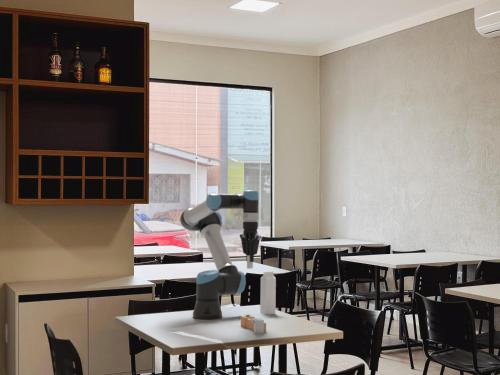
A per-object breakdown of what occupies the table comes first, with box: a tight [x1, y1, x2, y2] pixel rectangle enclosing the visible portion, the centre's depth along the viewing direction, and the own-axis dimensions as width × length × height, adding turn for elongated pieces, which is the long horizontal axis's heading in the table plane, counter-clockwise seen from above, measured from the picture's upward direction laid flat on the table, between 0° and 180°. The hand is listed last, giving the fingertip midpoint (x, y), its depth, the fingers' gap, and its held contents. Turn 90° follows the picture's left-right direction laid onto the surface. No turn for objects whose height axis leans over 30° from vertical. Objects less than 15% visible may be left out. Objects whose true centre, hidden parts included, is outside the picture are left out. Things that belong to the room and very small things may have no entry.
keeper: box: [251, 317, 265, 335], centre depth 315 cm, size 5×5×6 cm
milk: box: [259, 271, 277, 315], centre depth 370 cm, size 6×6×22 cm
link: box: [240, 314, 267, 333], centre depth 323 cm, size 18×5×4 cm, turn 25°
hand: (249, 268), depth 349 cm, fingers closed
